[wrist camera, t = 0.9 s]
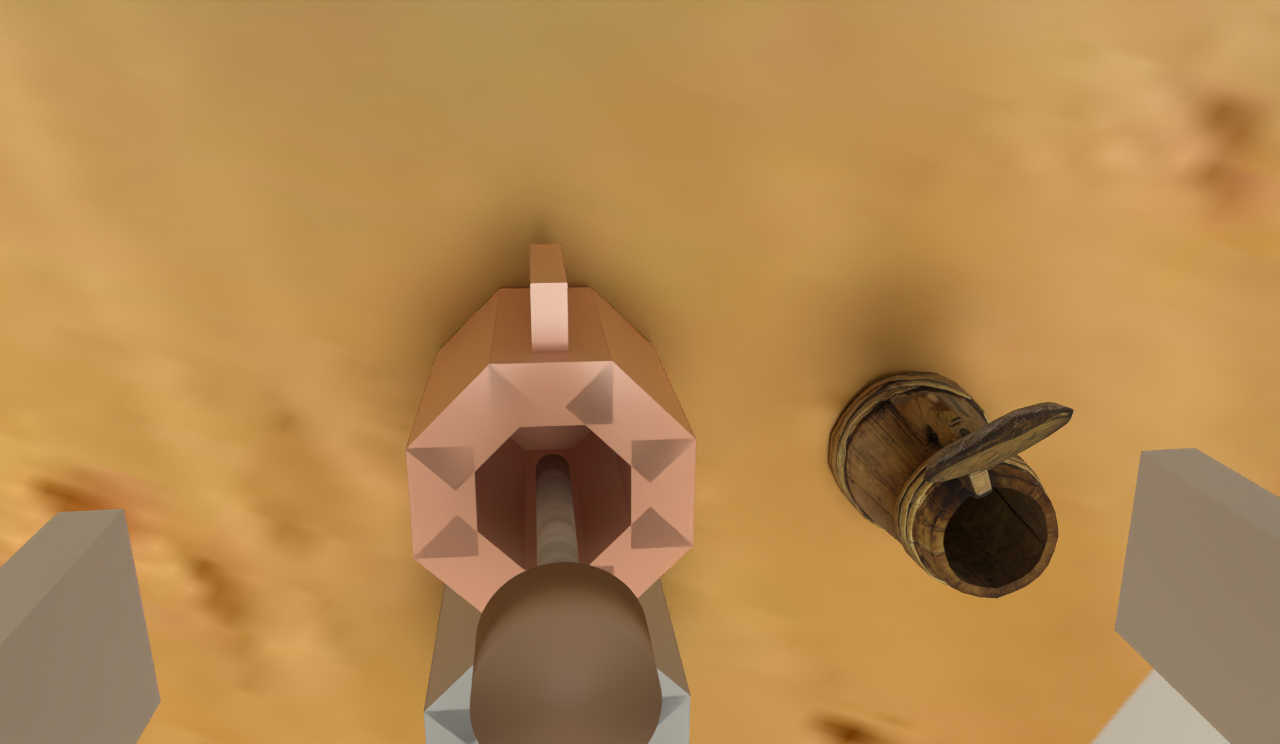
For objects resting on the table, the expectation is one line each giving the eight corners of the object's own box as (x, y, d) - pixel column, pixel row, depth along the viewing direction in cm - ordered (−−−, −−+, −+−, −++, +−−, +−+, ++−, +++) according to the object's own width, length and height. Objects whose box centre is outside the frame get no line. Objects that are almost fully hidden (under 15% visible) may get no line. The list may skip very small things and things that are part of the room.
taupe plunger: (489, 414, 40) (465, 626, 25) (612, 410, 41) (663, 616, 25) (494, 526, 42) (473, 793, 26) (612, 521, 42) (661, 780, 27)
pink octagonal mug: (431, 233, 49) (394, 294, 35) (653, 231, 50) (699, 288, 36) (445, 490, 53) (418, 632, 39) (651, 482, 54) (692, 617, 40)
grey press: (446, 498, 53) (418, 642, 39) (651, 490, 54) (692, 627, 41) (459, 718, 57) (437, 916, 43) (649, 706, 58) (686, 896, 45)
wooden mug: (938, 270, 52) (1139, 366, 35) (1002, 487, 56) (1209, 668, 39) (781, 334, 52) (905, 461, 35) (856, 545, 56) (1000, 752, 39)
